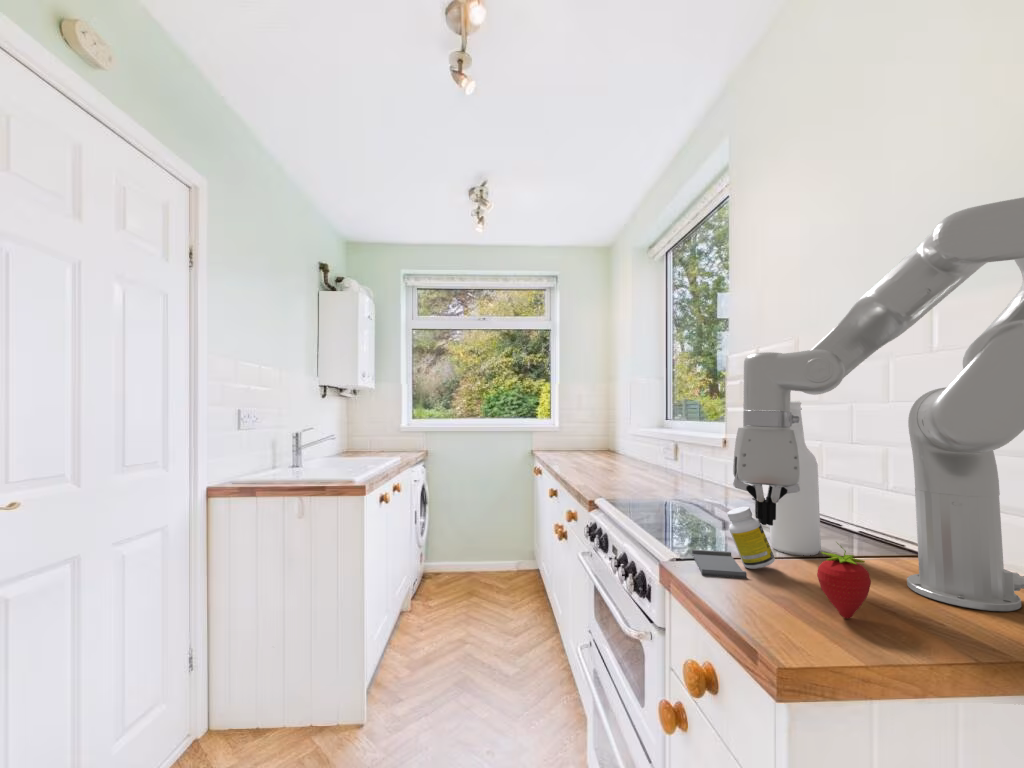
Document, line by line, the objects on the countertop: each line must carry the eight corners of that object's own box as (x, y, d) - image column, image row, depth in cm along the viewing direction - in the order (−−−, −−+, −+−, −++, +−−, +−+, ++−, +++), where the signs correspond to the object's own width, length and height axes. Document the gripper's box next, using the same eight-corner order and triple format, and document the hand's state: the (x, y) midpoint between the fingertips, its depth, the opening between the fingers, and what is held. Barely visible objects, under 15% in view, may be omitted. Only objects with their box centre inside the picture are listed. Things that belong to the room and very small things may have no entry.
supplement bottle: (780, 563, 82) (757, 507, 83) (749, 572, 83) (726, 517, 84) (770, 554, 87) (748, 503, 89) (740, 563, 88) (719, 512, 90)
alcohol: (773, 553, 94) (768, 401, 96) (768, 542, 102) (763, 402, 104) (825, 558, 91) (819, 400, 92) (816, 546, 99) (810, 401, 100)
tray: (730, 557, 92) (730, 551, 92) (746, 578, 80) (746, 572, 80) (692, 554, 93) (692, 549, 93) (702, 575, 82) (702, 569, 82)
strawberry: (810, 618, 65) (807, 543, 65) (830, 604, 69) (827, 534, 70) (862, 633, 60) (859, 553, 61) (879, 617, 65) (876, 542, 65)
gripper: (804, 422, 88) (804, 522, 87) (718, 419, 92) (716, 515, 91) (820, 423, 81) (820, 532, 80) (726, 420, 84) (725, 525, 84)
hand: (765, 523), depth 86 cm, fingers closed
